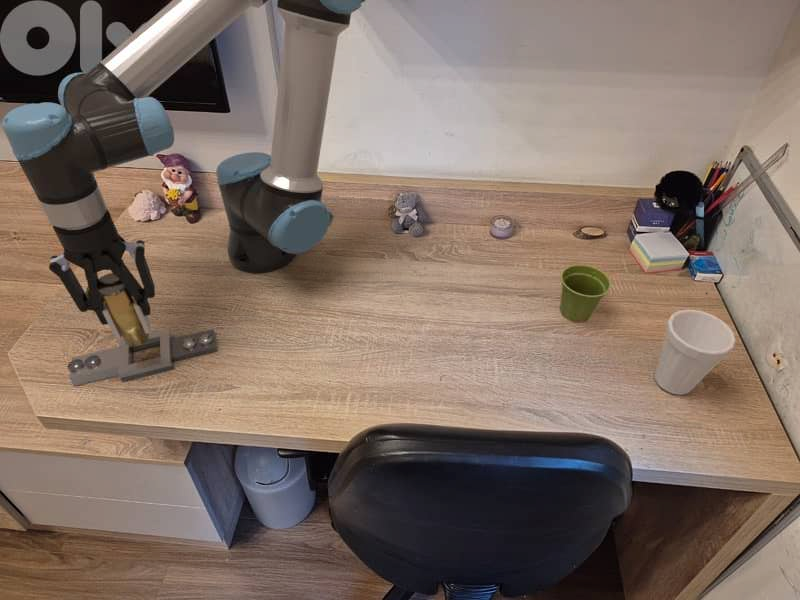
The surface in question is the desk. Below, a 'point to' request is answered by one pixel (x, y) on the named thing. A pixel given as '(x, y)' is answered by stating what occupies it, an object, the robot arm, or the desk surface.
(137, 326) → the link pin
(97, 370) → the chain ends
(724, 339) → the cup
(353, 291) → the desk surface
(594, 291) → the plant pot
